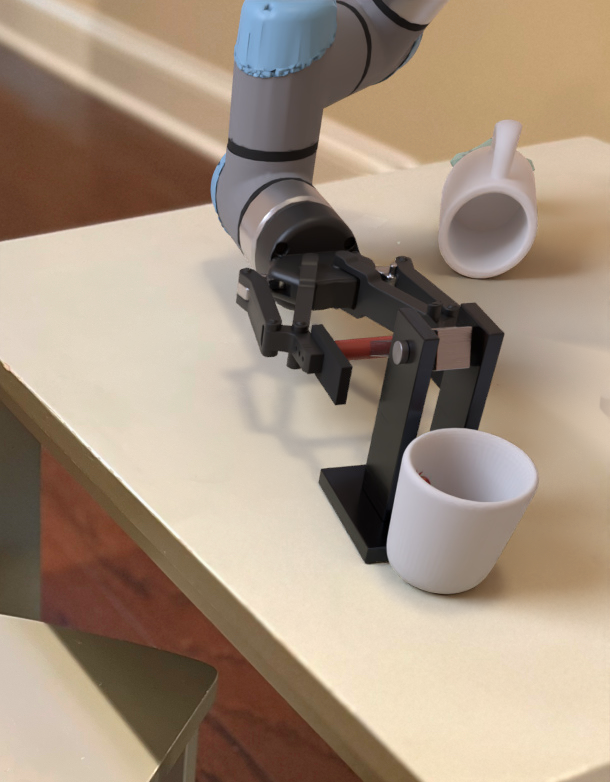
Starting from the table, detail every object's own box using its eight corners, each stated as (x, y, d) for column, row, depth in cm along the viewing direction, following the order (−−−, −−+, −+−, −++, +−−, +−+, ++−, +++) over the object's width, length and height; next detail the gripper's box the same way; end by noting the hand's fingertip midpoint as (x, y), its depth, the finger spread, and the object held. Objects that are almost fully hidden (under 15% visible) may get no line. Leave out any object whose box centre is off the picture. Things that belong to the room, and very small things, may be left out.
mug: (521, 239, 113) (558, 102, 105) (523, 283, 106) (563, 140, 98) (432, 232, 115) (462, 97, 107) (428, 275, 108) (460, 133, 100)
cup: (413, 493, 81) (447, 391, 75) (526, 535, 79) (571, 432, 72) (352, 578, 75) (383, 474, 69) (472, 626, 73) (516, 522, 67)
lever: (322, 369, 83) (322, 334, 82) (417, 361, 84) (418, 325, 83) (397, 374, 71) (398, 332, 70) (508, 364, 72) (510, 322, 71)
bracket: (317, 482, 84) (351, 291, 74) (438, 471, 85) (488, 280, 75) (364, 564, 77) (408, 364, 67) (496, 550, 78) (559, 351, 68)
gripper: (407, 284, 99) (525, 419, 82) (174, 303, 97) (248, 444, 81) (427, 190, 93) (557, 314, 77) (180, 208, 92) (261, 340, 76)
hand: (399, 381), depth 79 cm, fingers closed on lever, 7 cm apart
